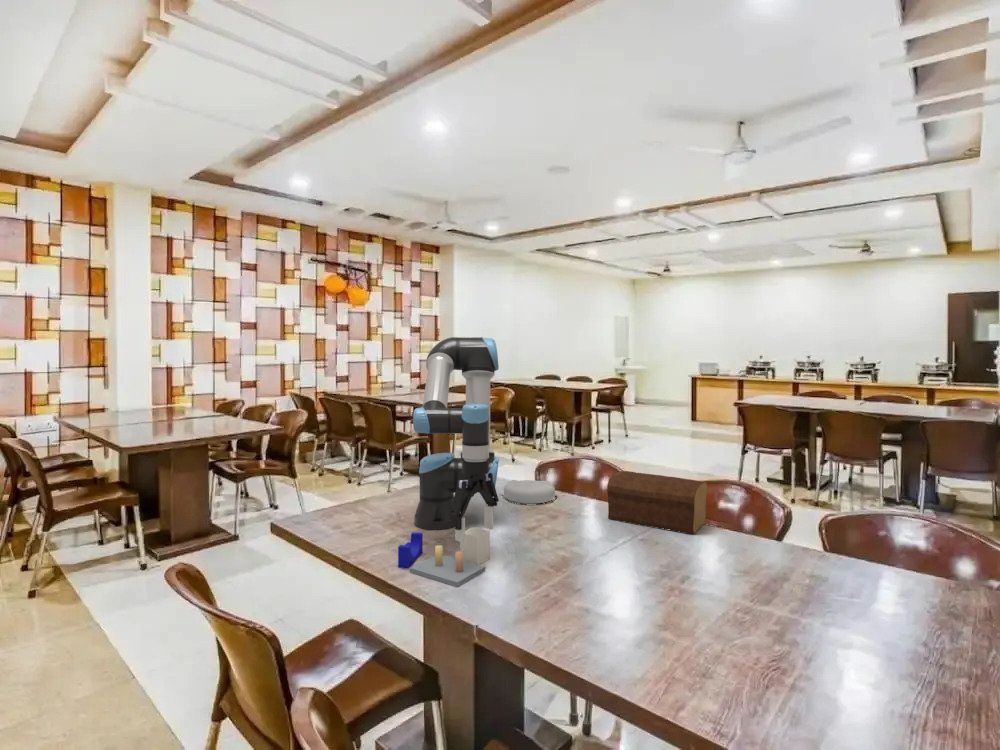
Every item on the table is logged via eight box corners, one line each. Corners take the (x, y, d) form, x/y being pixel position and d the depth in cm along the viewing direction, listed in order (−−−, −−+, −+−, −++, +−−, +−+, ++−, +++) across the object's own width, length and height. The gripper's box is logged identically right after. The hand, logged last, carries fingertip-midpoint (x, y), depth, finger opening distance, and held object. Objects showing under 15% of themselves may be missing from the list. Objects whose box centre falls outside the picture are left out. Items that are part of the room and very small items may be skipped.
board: (438, 558, 160) (438, 536, 160) (484, 571, 151) (485, 548, 151) (409, 572, 150) (409, 549, 150) (457, 587, 141) (457, 562, 141)
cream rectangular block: (472, 554, 163) (472, 527, 163) (489, 558, 160) (489, 530, 159) (459, 560, 158) (460, 532, 158) (477, 565, 155) (477, 536, 154)
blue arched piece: (407, 552, 165) (407, 532, 165) (422, 553, 164) (422, 533, 164) (392, 568, 153) (392, 546, 153) (408, 569, 152) (408, 547, 152)
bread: (693, 537, 180) (694, 487, 179) (605, 520, 196) (606, 474, 195) (706, 522, 195) (708, 476, 194) (624, 508, 211) (625, 465, 210)
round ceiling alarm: (492, 505, 214) (493, 489, 214) (503, 489, 239) (503, 474, 238) (558, 509, 210) (559, 493, 210) (562, 492, 234) (562, 477, 234)
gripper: (489, 451, 170) (489, 521, 171) (436, 464, 149) (435, 544, 150) (510, 454, 166) (510, 525, 167) (458, 468, 145) (458, 549, 146)
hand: (474, 534), depth 158 cm, fingers open, 13 cm apart
